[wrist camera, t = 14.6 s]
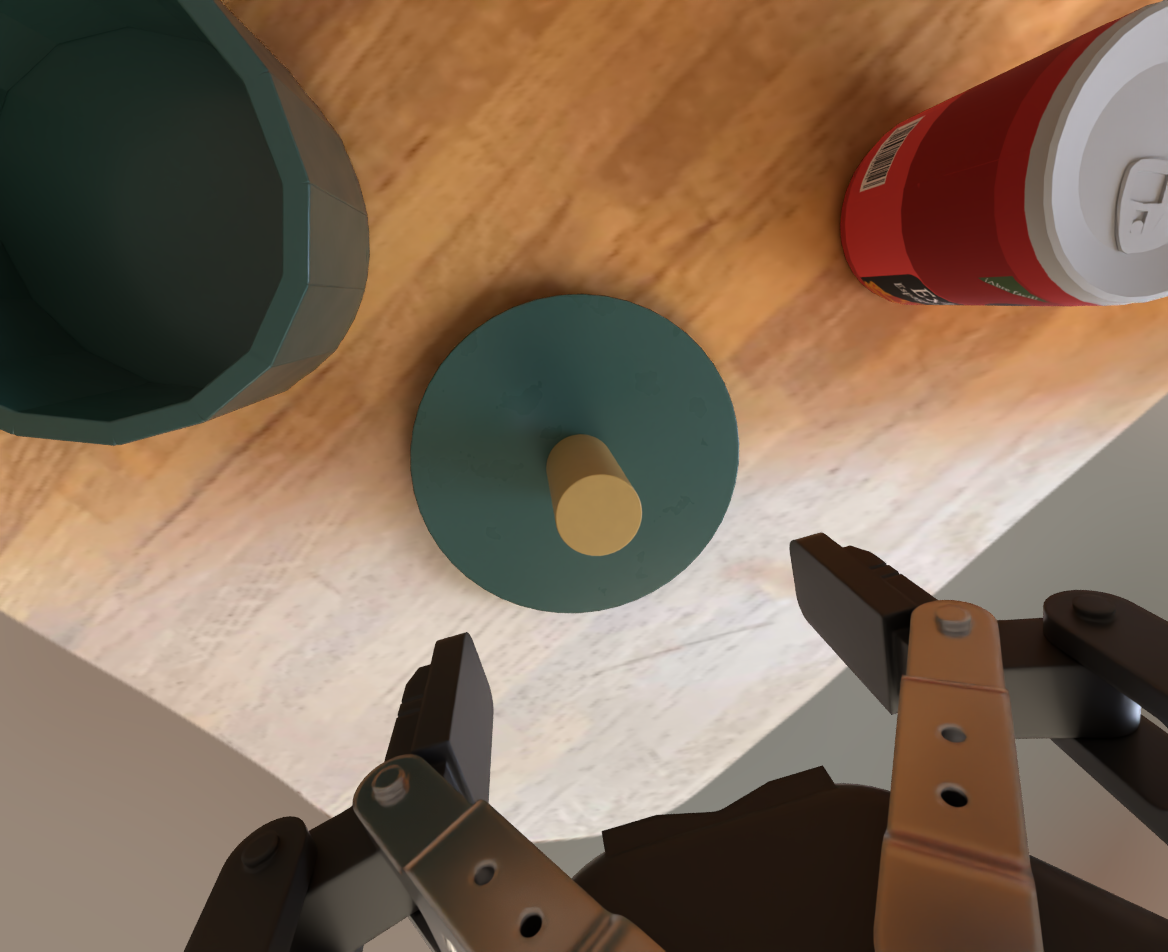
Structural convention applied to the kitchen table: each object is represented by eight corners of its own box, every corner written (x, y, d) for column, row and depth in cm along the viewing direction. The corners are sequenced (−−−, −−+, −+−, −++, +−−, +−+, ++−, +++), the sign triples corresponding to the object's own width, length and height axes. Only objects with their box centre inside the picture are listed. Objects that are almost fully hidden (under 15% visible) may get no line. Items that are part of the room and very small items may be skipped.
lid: (365, 344, 25) (304, 362, 18) (699, 255, 26) (772, 236, 19) (472, 636, 30) (458, 742, 23) (752, 555, 31) (827, 635, 23)
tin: (-107, 65, 21) (-432, -59, 14) (286, -31, 21) (170, -199, 14) (98, 441, 25) (-67, 495, 18) (418, 355, 26) (380, 375, 19)
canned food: (839, 320, 27) (1038, 331, 17) (827, 136, 25) (1050, 16, 15) (989, 286, 28) (1273, 275, 17) (990, 101, 25) (1323, -41, 15)
